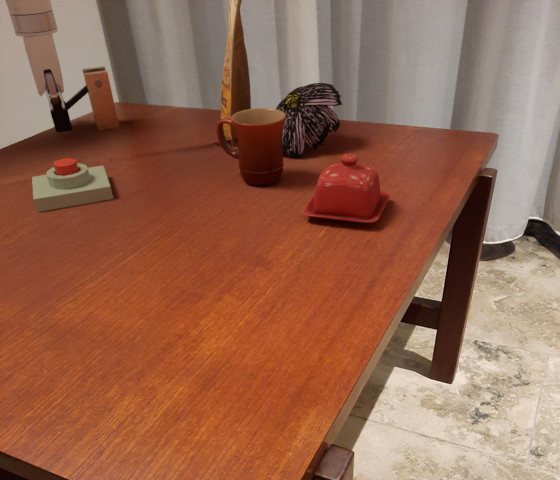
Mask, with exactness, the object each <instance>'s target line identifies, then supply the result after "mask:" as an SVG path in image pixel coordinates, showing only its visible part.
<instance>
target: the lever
mask: <svg viewBox="0 0 560 480" xmlns="http://www.w3.org/2000/svg"><path fill="white" fill-rule="evenodd" d="M94 72H99V70H98V69H97V70H96V71H94ZM86 95H88V88H87V85H86V84H85V85H84V86H83V87H82V88H81V89H80V90H78V92H76V93H75V94H74V95H73V96H72V97H71V98H70V99H68V100H67V101H65V104H64V105H65V109H67V110H68V111H69V110H70V109H71V108H73V106H75V105H76V104H77V103H78V102H79V101H81V99H82V98H84V97H85V96H86Z"/></svg>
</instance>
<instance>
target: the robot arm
mask: <svg viewBox="0 0 560 480" xmlns="http://www.w3.org/2000/svg"><path fill="white" fill-rule="evenodd" d="M5 4H6V6H7V11H8V13H9V17H10V20H11V24H12V27H13V31H14V33H15V36H17V37H21V38H22V40H23V44H24V49H25V51H26V52H25V53H26V56H27V60H28V63H29V66H30V70H31V73H32V76H33V80H34V84H35V87H36V91H37V94H38V95H39V96H40V97H43V94H46V98H47V101H48V106H49V109H50V111H49V112H50V116H51V119H52V122H53V127H54V129H55V132H56V133H66V132H71V131H73V126H72V122H71V118H70V115H69V110H67V109H65V105H64V104H65V103H66V101H65V100H64V97H63V93H64V92H65V86H64V80H63V75H62V74H63V73H62V69H61V64H60V60H59V56H58V52H57V47H56V44H55V39H54V37H53V34H56V33H57V32H59V29H58V26H57V21H56V18H55V13H54V10H53V6H52V3H51V0H5Z"/></svg>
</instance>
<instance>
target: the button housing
mask: <svg viewBox="0 0 560 480" xmlns="http://www.w3.org/2000/svg"><path fill="white" fill-rule="evenodd" d="M77 166H78V169H79V171H78V172H77V173H74V174H72V175H66V176H61V175H56V172H55V168H54V166H53V167H50V169H48V170H47V171H46V174H41V175H34V176H31V184H32V199H33V203H34V205H35V209H36V211H37V213H42V212H47V211H51V210H52V211H53V210H58V209H63V208H69V207H75V206H81V205H86V204H91V203H98V202H103V201H110V200H114V194H113V191H112V186H111V184H110V180H109V178H108V177H109V176H108V174H107V171H106V168H105V165H97V166H92V167H91V166H90V167H88V165H86V164H84V163H80V162H78V163H77Z"/></svg>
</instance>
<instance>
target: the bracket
mask: <svg viewBox="0 0 560 480" xmlns="http://www.w3.org/2000/svg"><path fill="white" fill-rule="evenodd" d="M81 69H82V74H83V78H84V82H85V86H86V85H87V88H88V93H87V95H88V98H89V103H90V107H91V111H92V115H93V120H94V123H95V126H96V129H97V131H98V132H99V131H106V130H113V129H120V123H119V120H118V119H119V118H118V115H117V109H116V105H115V101H114V100H115V99H114V96H113V90H112V87H111V81H110V78H109V72H108V70H106V67H105V66H104V65H103V66H94V67H85V68H81ZM97 69H98V70H99V72H94V71H96V70H97Z"/></svg>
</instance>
